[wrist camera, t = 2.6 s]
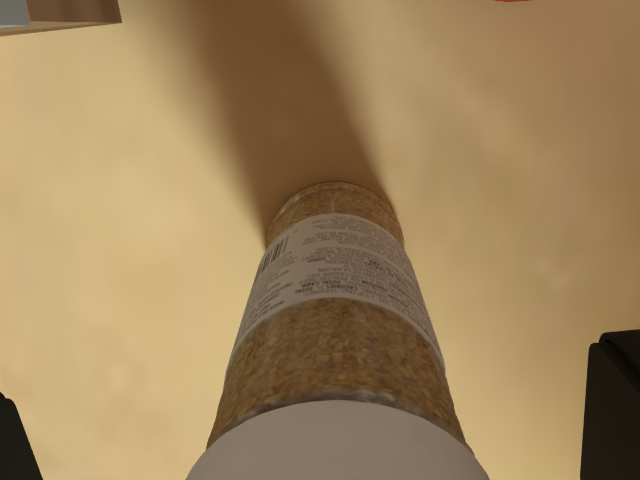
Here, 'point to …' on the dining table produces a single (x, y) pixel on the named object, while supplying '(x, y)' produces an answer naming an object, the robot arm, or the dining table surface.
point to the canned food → (511, 0)
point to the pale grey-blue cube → (13, 13)
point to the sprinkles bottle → (336, 357)
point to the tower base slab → (66, 15)
